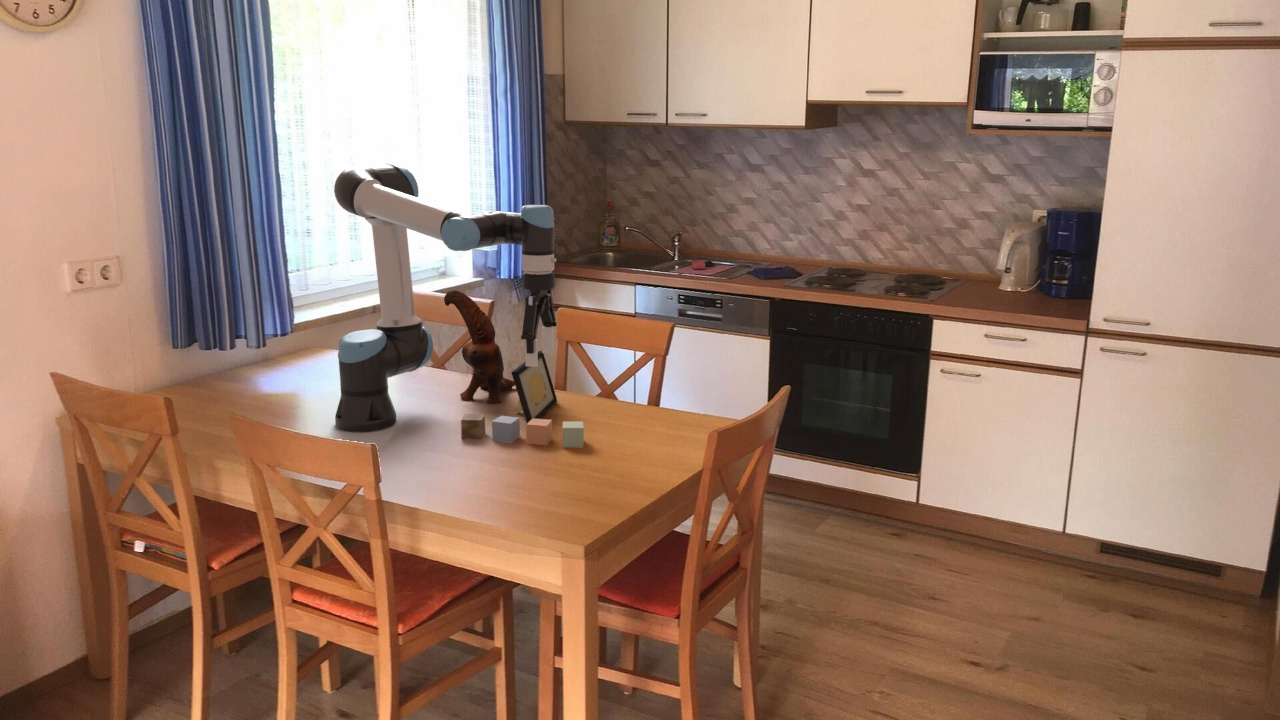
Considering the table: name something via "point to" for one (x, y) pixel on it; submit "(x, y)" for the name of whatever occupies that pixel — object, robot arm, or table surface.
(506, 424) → the slate block
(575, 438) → the sage block
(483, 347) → the sculpture
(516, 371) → the picture frame
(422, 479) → the table surface
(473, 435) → the walnut block
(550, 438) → the terracotta block
